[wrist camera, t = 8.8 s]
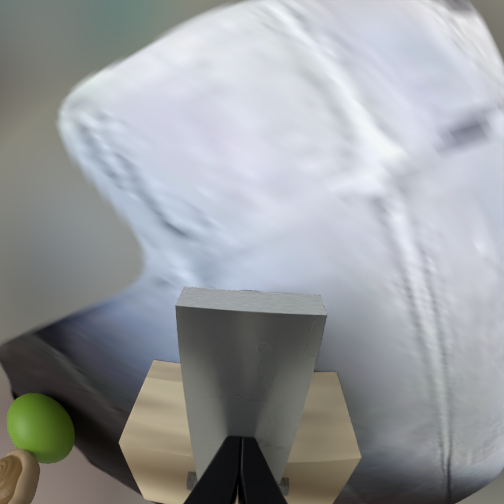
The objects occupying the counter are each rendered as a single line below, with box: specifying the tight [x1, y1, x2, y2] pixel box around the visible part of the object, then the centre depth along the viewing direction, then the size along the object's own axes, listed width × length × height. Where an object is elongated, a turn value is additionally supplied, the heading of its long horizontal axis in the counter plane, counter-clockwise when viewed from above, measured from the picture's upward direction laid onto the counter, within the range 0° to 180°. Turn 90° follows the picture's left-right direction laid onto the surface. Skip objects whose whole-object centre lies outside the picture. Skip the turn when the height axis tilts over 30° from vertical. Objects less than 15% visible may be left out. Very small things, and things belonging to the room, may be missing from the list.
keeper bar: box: [175, 286, 327, 496], centre depth 8 cm, size 10×4×1 cm, turn 176°
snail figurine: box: [0, 393, 75, 504], centre depth 12 cm, size 5×6×12 cm
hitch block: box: [119, 360, 361, 504], centre depth 14 cm, size 6×10×6 cm, turn 86°
